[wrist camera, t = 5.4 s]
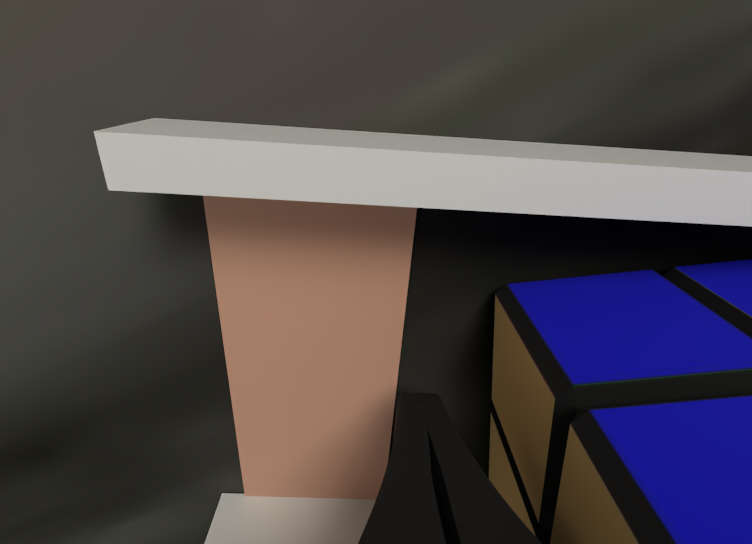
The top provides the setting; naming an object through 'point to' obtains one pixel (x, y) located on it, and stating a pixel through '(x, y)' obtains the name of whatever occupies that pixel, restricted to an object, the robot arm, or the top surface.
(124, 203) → the top surface
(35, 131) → the top surface
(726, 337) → the puzzle cube
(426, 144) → the trap channel
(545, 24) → the top surface
